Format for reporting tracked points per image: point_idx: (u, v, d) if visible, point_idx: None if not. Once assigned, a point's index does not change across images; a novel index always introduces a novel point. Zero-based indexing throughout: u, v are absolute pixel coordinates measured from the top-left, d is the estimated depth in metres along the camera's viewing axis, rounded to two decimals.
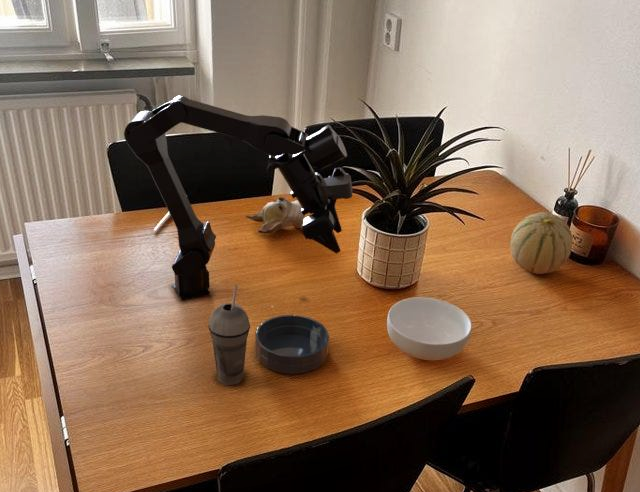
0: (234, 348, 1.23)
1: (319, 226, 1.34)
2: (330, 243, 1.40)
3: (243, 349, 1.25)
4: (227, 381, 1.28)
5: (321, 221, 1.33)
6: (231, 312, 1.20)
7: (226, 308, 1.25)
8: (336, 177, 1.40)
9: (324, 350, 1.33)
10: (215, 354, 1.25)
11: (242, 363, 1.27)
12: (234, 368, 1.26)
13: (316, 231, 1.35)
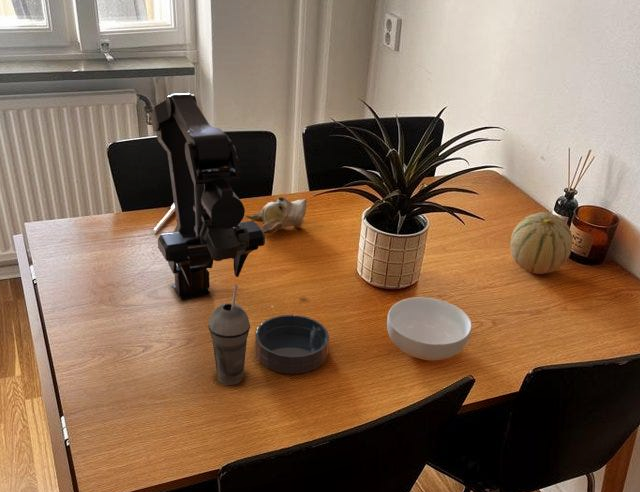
0: (234, 348, 1.23)
1: (163, 249, 1.24)
2: (183, 271, 1.29)
3: (243, 349, 1.25)
4: (227, 381, 1.28)
5: (164, 247, 1.23)
6: (231, 312, 1.20)
7: (226, 308, 1.25)
8: (231, 234, 1.23)
9: (324, 350, 1.33)
10: (215, 354, 1.25)
11: (242, 363, 1.27)
12: (234, 368, 1.26)
13: (161, 250, 1.25)
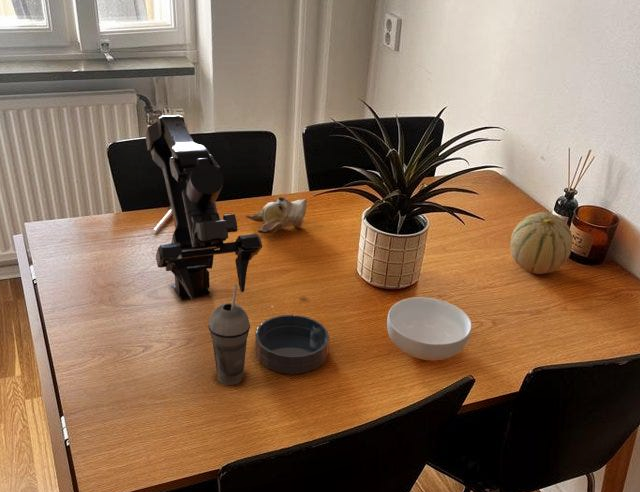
0: (234, 348, 1.23)
1: (158, 254, 1.25)
2: (184, 284, 1.27)
3: (243, 349, 1.25)
4: (227, 381, 1.28)
5: (157, 249, 1.25)
6: (231, 312, 1.20)
7: (226, 308, 1.25)
8: (219, 220, 1.25)
9: (324, 350, 1.33)
10: (215, 354, 1.25)
11: (242, 363, 1.27)
12: (234, 368, 1.26)
13: (158, 260, 1.26)
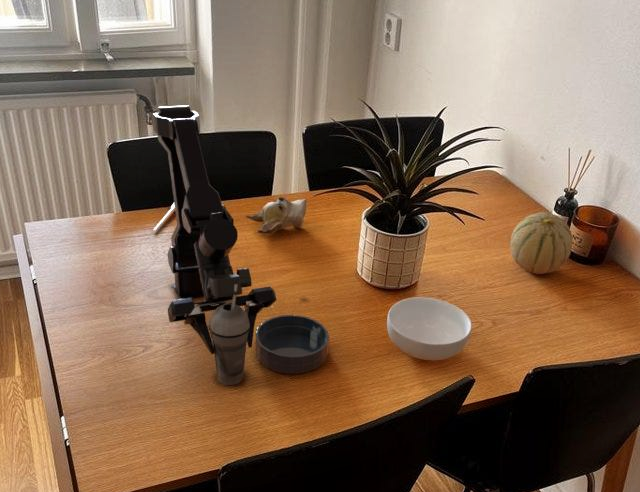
0: (234, 348, 1.23)
1: (170, 310, 1.22)
2: (203, 339, 1.24)
3: (243, 349, 1.25)
4: (227, 381, 1.28)
5: (170, 305, 1.21)
6: (231, 312, 1.20)
7: (226, 308, 1.25)
8: (232, 275, 1.22)
9: (324, 350, 1.33)
10: (215, 354, 1.25)
11: (242, 363, 1.27)
12: (234, 368, 1.26)
13: (170, 315, 1.23)
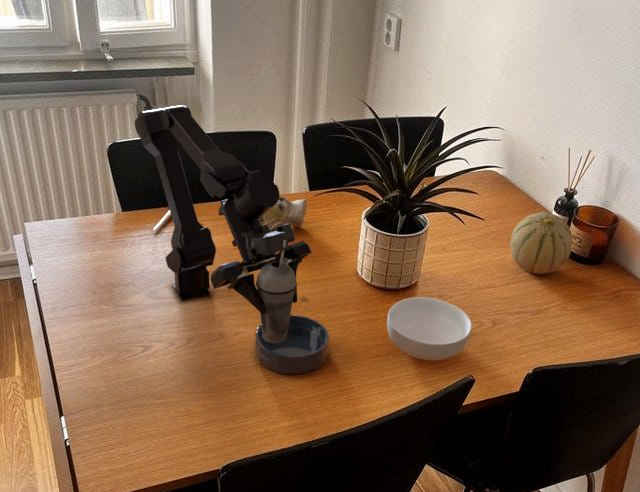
0: (286, 304, 1.25)
1: (218, 275, 1.21)
2: (252, 300, 1.24)
3: (291, 304, 1.27)
4: (276, 339, 1.29)
5: (218, 270, 1.20)
6: (282, 268, 1.22)
7: None
8: (275, 232, 1.23)
9: (324, 350, 1.33)
10: (264, 314, 1.26)
11: (289, 319, 1.29)
12: (284, 325, 1.28)
13: (217, 281, 1.22)
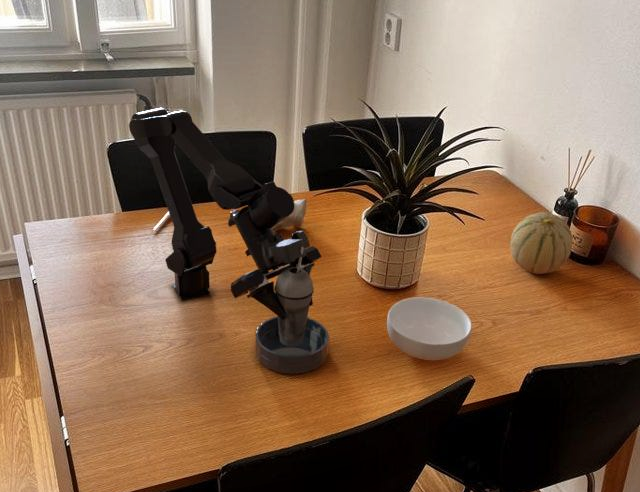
0: (305, 308, 1.29)
1: (240, 285, 1.24)
2: (272, 306, 1.28)
3: (308, 308, 1.32)
4: (295, 342, 1.34)
5: (240, 280, 1.24)
6: (300, 274, 1.27)
7: None
8: (290, 240, 1.27)
9: (324, 350, 1.33)
10: (284, 319, 1.30)
11: None
12: (302, 328, 1.32)
13: (238, 291, 1.25)
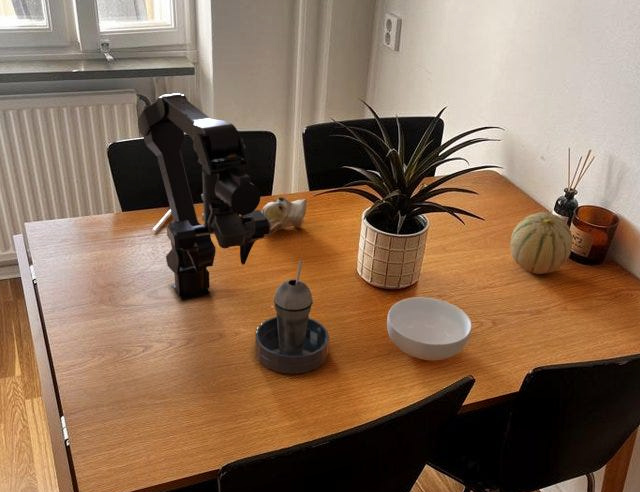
0: (304, 320, 1.31)
1: (171, 236, 1.28)
2: (191, 258, 1.33)
3: (307, 319, 1.33)
4: (294, 354, 1.35)
5: (173, 235, 1.27)
6: (299, 286, 1.28)
7: None
8: (238, 222, 1.27)
9: (324, 350, 1.33)
10: (283, 330, 1.32)
11: (305, 333, 1.35)
12: (301, 339, 1.34)
13: (170, 237, 1.29)
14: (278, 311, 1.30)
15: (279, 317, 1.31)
